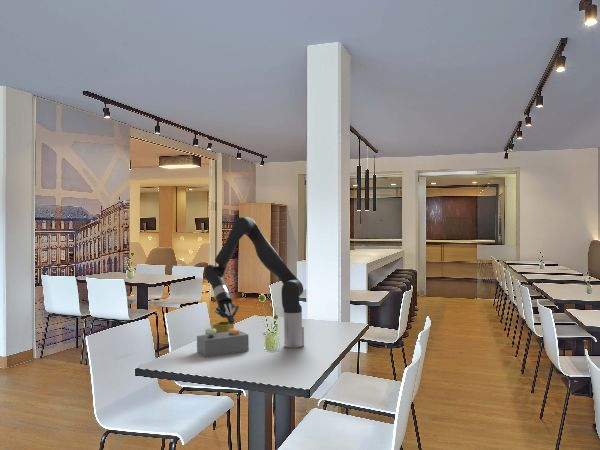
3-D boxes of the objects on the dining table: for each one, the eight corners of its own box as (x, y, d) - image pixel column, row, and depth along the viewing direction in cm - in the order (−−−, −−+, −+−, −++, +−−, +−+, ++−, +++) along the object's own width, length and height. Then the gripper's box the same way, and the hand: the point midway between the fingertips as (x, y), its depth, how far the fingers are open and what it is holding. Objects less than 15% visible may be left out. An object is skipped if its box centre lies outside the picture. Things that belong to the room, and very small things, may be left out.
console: (238, 346, 245) (238, 330, 245) (248, 350, 235) (248, 334, 235) (197, 352, 234) (196, 336, 234) (205, 357, 223) (205, 340, 223)
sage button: (214, 337, 235) (214, 328, 235) (218, 339, 230) (217, 329, 230) (203, 338, 232) (203, 329, 232) (207, 340, 228) (207, 331, 228)
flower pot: (227, 342, 254) (227, 325, 254) (212, 341, 257) (212, 324, 257) (234, 338, 263) (234, 322, 263) (220, 337, 265) (220, 321, 265)
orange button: (236, 336, 241) (236, 327, 241) (241, 338, 236) (240, 329, 236) (227, 338, 238) (227, 329, 238) (231, 340, 234) (231, 331, 234)
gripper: (212, 292, 244) (221, 320, 233) (236, 290, 251) (246, 317, 240) (208, 301, 248) (217, 329, 238) (232, 299, 255) (242, 325, 245)
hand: (232, 323), depth 239 cm, fingers closed
